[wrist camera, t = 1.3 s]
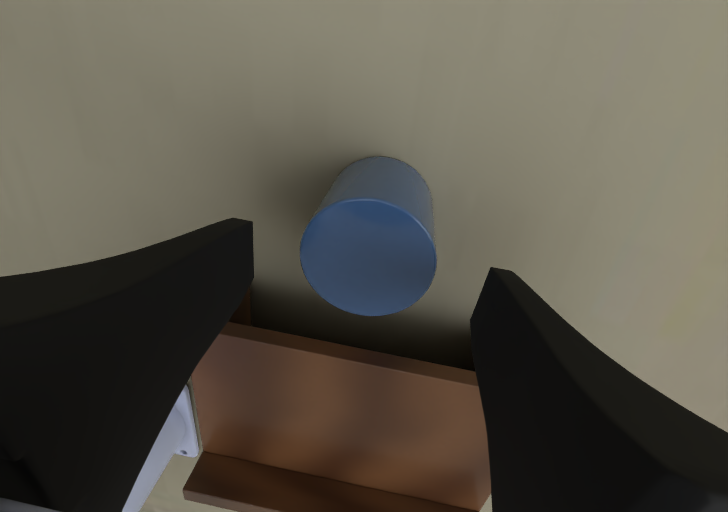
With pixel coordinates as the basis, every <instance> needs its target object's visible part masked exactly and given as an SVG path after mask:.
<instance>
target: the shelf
mask: <svg viewBox="0 0 728 512" xmlns="http://www.w3.org/2000/svg"><path fill="white" fill-rule="evenodd" d="M191 378H192V384H193V390H194V396H195V403H196V409H197V415H198V421H199V427H200V433H201V440H202V446H203V452H202V454H201V456H200V458H199V459H198V461H197V463H196V465H195V467H194V469H193V471H192V473H191V474H190V476H189V478H188V480H187V482H186V484H185V486H184V488H183V494H184V498H185V500H189V501H194V502H198V503H203V504H207V505H212V506H216V507H220V508H225V509H229V510H234V511H238V512H479V511H480V510H481V508H482V506H483V505H484V503H485V502H486V500H487V499H488V497H489V495H490V494H491V479H490V465H489V453H488V441H487V431H486V425H485V418H484V413H483V408H482V402H481V397H480V392H479V387H478V382H477V377H476V372H474V371H469V370H464V369H459V368H455V367H450V366H445V365H440V364H435V363H430V362H425V361H420V360H415V359H410V358H405V357H400V356H395V355H390V354H385V353H380V352H376V351H371V350H366V349H361V348H356V347H351V346H346V345H341V344H336V343H331V342H326V341H321V340H316V339H311V338H306V337H302V336H297V335H292V334H287V333H282V332H277V331H272V330H267V329H262V328H257V327H252V326H251V306H250V286H249V288H248V290H247V292H246V294H245V296H244V298H243V300H242V302H241V303H240V305H239V306H238V308H237V309H236V311H235V312H234V314H233V315H232V316H231V318H230V319H229V321H228V322H227V324H226V325H225V326H224V328H223V329H222V331H221V332H220V333H219V335H218V336H217V338H216V339H215V340H214V342H213V343H212V345H211V346H210V347H209V349H208V350H207V352H206V353H205V354H204V356H203V357H202V359H201V360H200V362H199V363H198V365H197V366H196V368H195V369H194V371H193V373H192V374H191Z"/></svg>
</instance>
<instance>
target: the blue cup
mask: <svg viewBox="0 0 728 512" xmlns="http://www.w3.org/2000/svg"><path fill="white" fill-rule="evenodd" d="M300 261H301V266H302V269H303V272H304V274H305V276H306V279H307V280H308V282H309V283H310V285H311V286H312V288H313V289H314V290H315V291H316V292H317V293H318V294H319V295H320V296H321V297H322V298H323V299H324V300H326V301H327V302H328V303H330V304H332V305H333V306H335V307H337V308H339V309H341V310H344V311H346V312H349V313H353V314H357V315H363V316H383V315H389V314H393V313H396V312H399V311H401V310H404V309H406V308H408V307H409V306H411V305H413V304H414V303H415V302H417V301H418V300H419V299H420V298H421V297H422V296H423V295H424V294H425V292H426V291H427V290H428V288H429V287H430V285H431V283H432V281H433V278H434V276H435V271H436V265H437V255H436V242H435V229H434V216H433V204H432V197H431V193H430V190H429V188H428V186H427V184H426V182H425V180H424V179H423V178H422V177H421V175H420V174H419V173H418V172H417V171H416V170H415V169H413V168H412V167H411V166H409V165H407V164H406V163H404V162H402V161H399V160H397V159H393V158H389V157H370V158H365V159H362V160H359V161H357V162H354V163H353V164H351V165H349V166H348V167H347V168H345V169H344V170H343V171H342V172H341V173H340V174H339V175H338V177H337V178H336V180H335V181H334V183H333V184H332V186H331V188H330V189H329V191H328V192H327V194H326V196H325V197H324V199H323V200H322V202H321V204H320V205H319V207H318V208H317V210H316V212H315V213H314V215H313V217H312V218H311V220H310V221H309V223H308V225H307V226H306V228H305V230H304V232H303V235H302V238H301V242H300Z"/></svg>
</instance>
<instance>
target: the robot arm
mask: <svg viewBox="0 0 728 512" xmlns="http://www.w3.org/2000/svg"><path fill="white" fill-rule="evenodd" d="M253 278H254V258H253V222H252V221H247V220H242V219H237V218H230V219H226V220H223V221H220V222H217V223H214V224H211V225H208V226H206V227H203V228H200V229H197V230H195V231H192V232H189V233H186V234H184V235H181V236H178V237H175V238H173V239H170V240H167V241H163V242H160V243H157V244H154V245H151V246H148V247H145V248H142V249H139V250H135V251H132V252H129V253H125V254H121V255H117V256H114V257H109V258H105V259H101V260H97V261H93V262H88V263H83V264H78V265H72V266H67V267H61V268H56V269H50V270H45V271H40V272H33V273H26V274H19V275H11V276H4V277H0V512H139V511H140V509H141V507H142V506H143V504H144V502H145V501H146V499H147V497H148V496H149V494H150V492H151V491H152V489H153V487H154V486H155V484H156V482H157V481H158V479H159V477H160V476H161V474H162V472H163V471H164V469H165V467H166V466H167V464H168V462H169V461H170V459H171V458H172V456H173V454H179V455H183V456H188V457H196V456H197V454H198V453H199V447H198V441H197V435H196V429H195V424H194V418H193V412H192V406H191V400H190V395H189V389H188V386H187V385H186V383H187V381H188V380H189V378H190V376H191V374H192V373H193V371H194V369H195V368H196V366H197V365H198V363H199V362H200V360H201V359H202V357H203V356H204V354H205V353H206V352H207V350H208V349H209V347H210V346H211V345H212V343H213V342H214V340H215V339H216V338H217V336H218V335H219V333H220V332H221V331H222V329H223V328H224V326H225V325H226V324H227V322H228V321H229V319H230V318H231V316H232V315H233V314H234V312H235V311H236V309H237V308H238V306H239V305H240V303H241V302H242V300H243V298H244V296H245V294H246V292H247V290H248V288H249V286H250V284H251V282H252V280H253ZM470 329H471V349H472V355H473V361H474V366H475V371H476V377H477V382H478V387H479V392H480V397H481V402H482V408H483V413H484V418H485V425H486V431H487V441H488V453H489V465H490V479H491V495H492V512H728V433H727V432H726V431H724V430H722V429H720V428H718V427H717V426H715V425H713V424H711V423H710V422H708V421H706V420H704V419H703V418H701V417H699V416H697V415H696V414H694V413H692V412H691V411H689V410H687V409H686V408H684V407H682V406H681V405H679V404H678V403H676V402H674V401H673V400H671V399H670V398H668V397H667V396H665V395H663V394H662V393H660V392H659V391H657V390H656V389H654V388H653V387H651V386H650V385H648V384H646V383H645V382H643V381H642V380H641V379H639V378H638V377H636V376H635V375H633V374H632V373H630V372H629V371H628V370H626V369H625V368H623V367H622V366H621V365H619V364H618V363H617V362H615V361H614V360H613V359H611V358H610V357H609V356H607V355H606V354H605V353H603V352H602V351H601V350H599V349H598V348H597V347H596V346H594V345H593V344H592V343H591V342H589V341H588V340H587V339H586V338H585V337H584V336H582V335H581V334H580V333H579V332H578V331H577V330H575V329H574V328H573V327H572V326H571V325H570V324H569V323H567V322H566V321H565V320H564V319H563V318H562V317H561V316H560V315H559V314H558V313H556V312H555V311H554V310H553V309H552V308H551V307H550V306H549V305H548V304H547V303H546V302H545V301H544V300H543V299H542V298H541V297H540V296H539V295H538V294H537V293H535V292H534V291H533V290H532V289H531V288H530V287H529V286H528V285H527V284H526V283H525V282H524V281H523V280H522V279H521V278H520V277H518V276H517V275H516V274H515V273H514V272H512V271H509V270H504V269H498V268H493V267H491V268H490V270H489V273H488V275H487V278H486V281H485V283H484V286H483V288H482V291H481V293H480V296H479V299H478V301H477V304H476V306H475V309H474V311H473V314H472V317H471V319H470Z"/></svg>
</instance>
